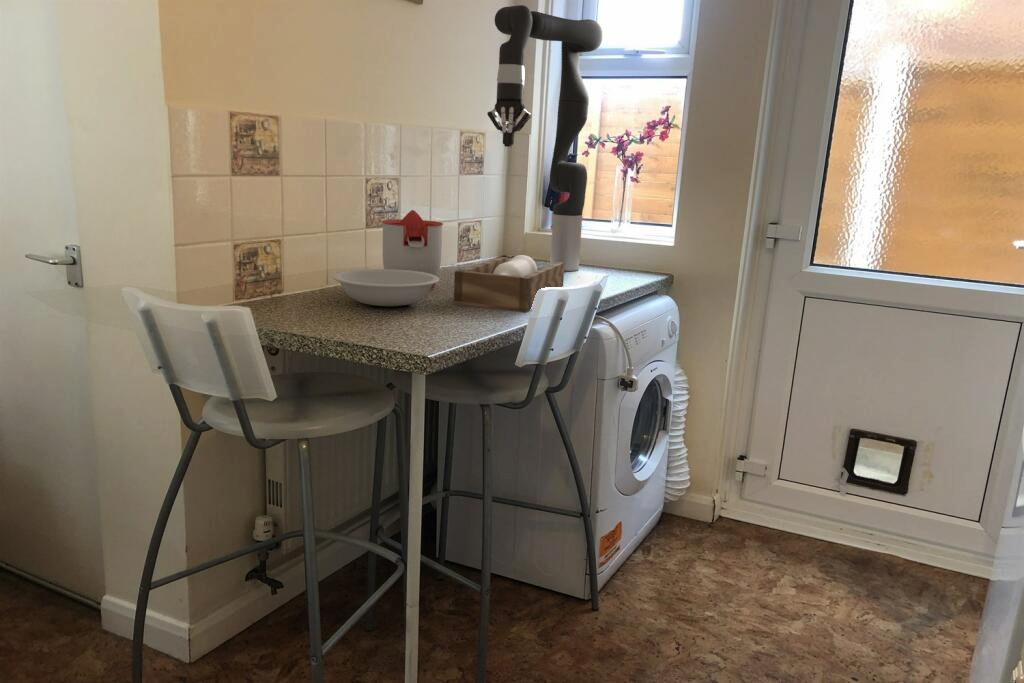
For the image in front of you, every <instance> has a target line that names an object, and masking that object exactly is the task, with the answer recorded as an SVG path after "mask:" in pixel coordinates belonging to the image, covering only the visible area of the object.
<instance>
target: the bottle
mask: <svg viewBox="0 0 1024 683" xmlns="http://www.w3.org/2000/svg"><path fill="white" fill-rule="evenodd" d="M537 270H538V267H537V264H536V261H535V260H534V259H533V258H531V257H530V256H529V255H525V254H519V255H516V256H514V257H512V258H511V259H510V260H509V261H507V262H505V263H502V264H500V265H499V266H497V267H496V269H495V270H494V272H493V274H501V275H512V276H522V277H523V276H525V275H528V274H530V273H532V272H535V271H537Z"/></svg>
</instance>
